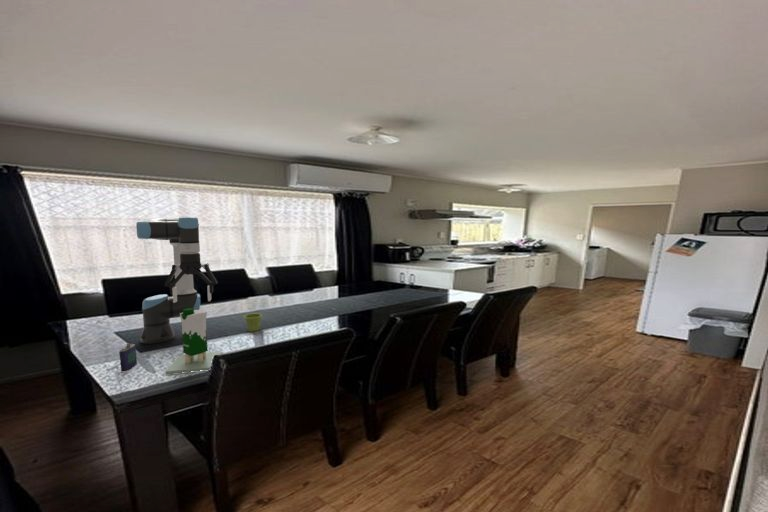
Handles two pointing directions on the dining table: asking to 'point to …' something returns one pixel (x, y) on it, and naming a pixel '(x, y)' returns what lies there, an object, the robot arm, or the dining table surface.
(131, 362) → the flask
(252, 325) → the plant pot
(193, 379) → the dining table surface
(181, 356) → the peg stand
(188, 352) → the soya milk
